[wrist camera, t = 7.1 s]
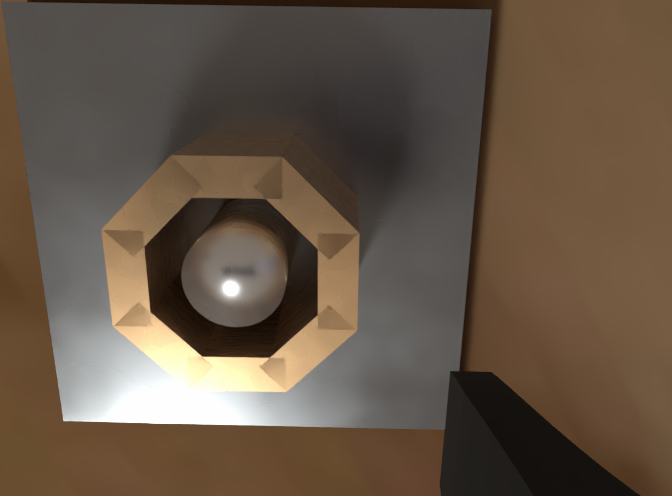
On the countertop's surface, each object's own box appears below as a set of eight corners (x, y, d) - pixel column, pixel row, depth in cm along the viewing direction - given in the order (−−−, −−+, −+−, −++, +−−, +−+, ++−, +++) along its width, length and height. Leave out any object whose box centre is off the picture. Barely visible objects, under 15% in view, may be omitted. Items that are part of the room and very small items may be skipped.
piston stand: (481, 11, 16) (526, 2, 12) (447, 407, 20) (473, 499, 16) (25, 4, 16) (-79, -7, 12) (79, 399, 20) (13, 488, 16)
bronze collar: (358, 134, 16) (361, 157, 13) (353, 328, 18) (355, 393, 14) (144, 131, 16) (92, 154, 13) (160, 325, 18) (119, 388, 15)
